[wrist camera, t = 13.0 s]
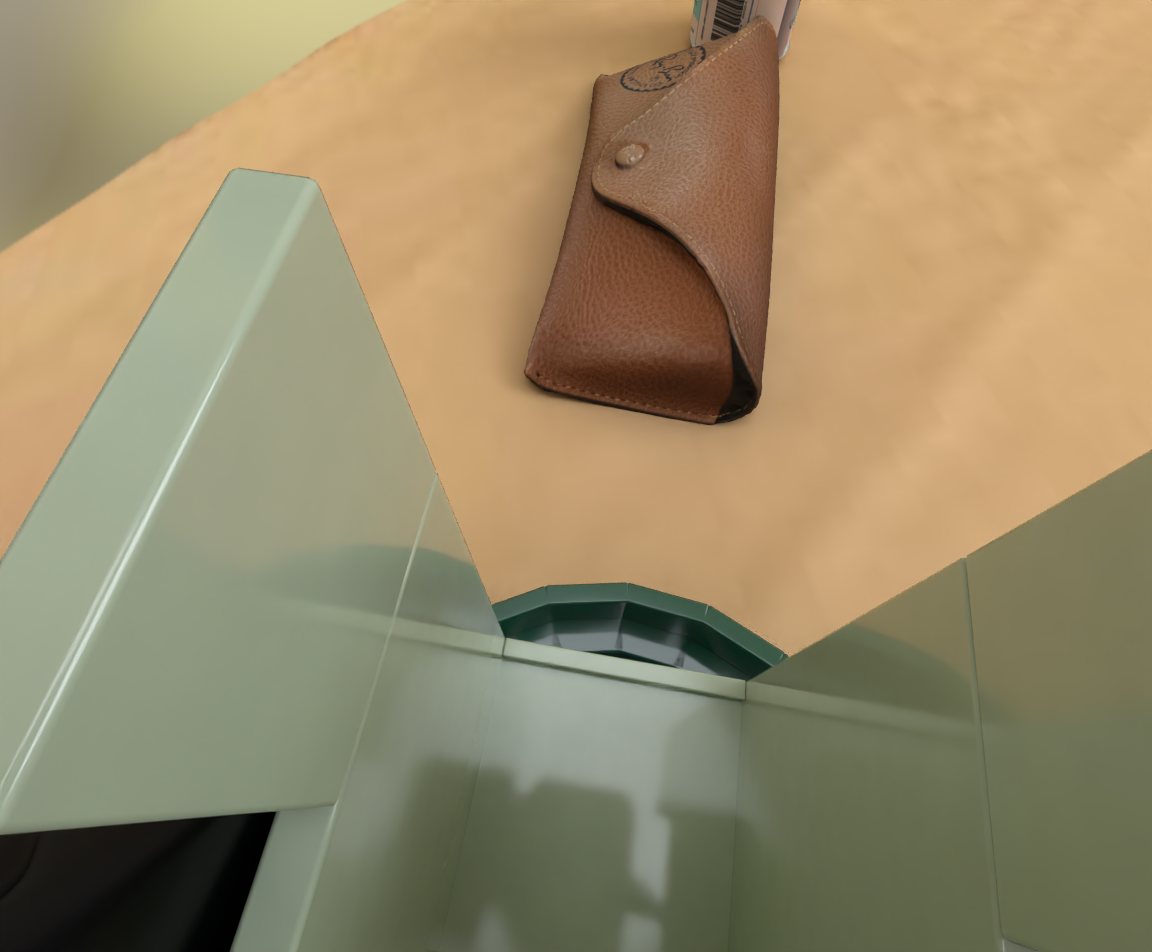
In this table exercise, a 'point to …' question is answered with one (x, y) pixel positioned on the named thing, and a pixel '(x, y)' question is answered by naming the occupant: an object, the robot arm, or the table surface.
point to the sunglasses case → (670, 237)
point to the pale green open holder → (536, 679)
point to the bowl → (637, 628)
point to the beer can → (741, 19)
